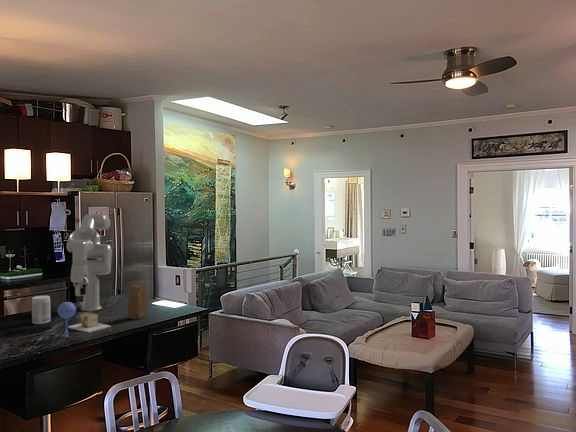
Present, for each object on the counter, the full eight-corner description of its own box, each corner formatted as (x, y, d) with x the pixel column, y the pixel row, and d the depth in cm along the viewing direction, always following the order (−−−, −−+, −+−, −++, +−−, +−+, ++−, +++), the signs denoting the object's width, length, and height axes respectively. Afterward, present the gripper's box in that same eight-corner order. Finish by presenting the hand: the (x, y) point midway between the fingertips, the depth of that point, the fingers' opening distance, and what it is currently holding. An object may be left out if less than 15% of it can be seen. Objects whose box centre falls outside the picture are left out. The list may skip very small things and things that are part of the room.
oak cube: (81, 326, 268) (81, 315, 268) (90, 323, 274) (90, 313, 273) (88, 327, 265) (88, 316, 265) (97, 325, 271) (97, 314, 270)
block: (137, 320, 286) (137, 286, 286) (126, 319, 289) (126, 285, 288) (148, 316, 296) (148, 283, 296) (138, 315, 299) (138, 283, 298)
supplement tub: (50, 319, 285) (50, 294, 285) (50, 323, 277) (50, 297, 276) (32, 321, 281) (31, 296, 281) (31, 325, 273) (31, 299, 272)
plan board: (67, 327, 268) (67, 326, 268) (89, 322, 280) (89, 321, 280) (89, 332, 259) (89, 331, 259) (110, 327, 271) (110, 325, 271)
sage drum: (73, 295, 279) (73, 285, 279) (80, 293, 283) (80, 283, 283) (78, 296, 277) (78, 286, 277) (86, 294, 281) (86, 284, 281)
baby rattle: (61, 334, 255) (61, 300, 254) (78, 334, 256) (78, 300, 255) (54, 339, 246) (54, 303, 246) (72, 338, 247) (72, 303, 246)
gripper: (64, 262, 280) (64, 293, 281) (83, 265, 272) (83, 297, 273) (76, 260, 287) (76, 291, 288) (95, 263, 278) (95, 294, 279)
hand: (79, 293), depth 280 cm, fingers closed on sage drum, 4 cm apart
